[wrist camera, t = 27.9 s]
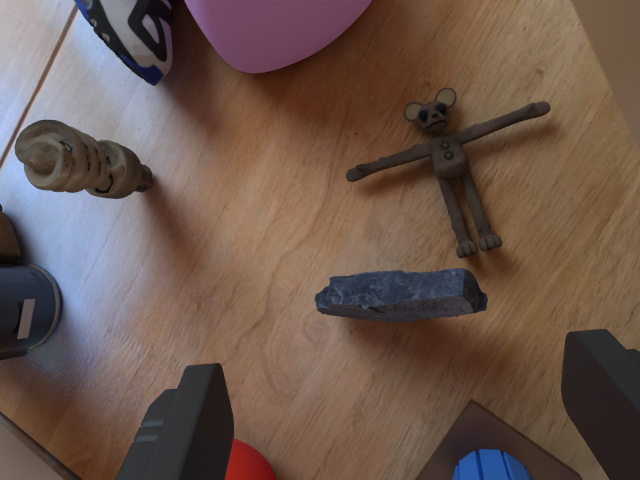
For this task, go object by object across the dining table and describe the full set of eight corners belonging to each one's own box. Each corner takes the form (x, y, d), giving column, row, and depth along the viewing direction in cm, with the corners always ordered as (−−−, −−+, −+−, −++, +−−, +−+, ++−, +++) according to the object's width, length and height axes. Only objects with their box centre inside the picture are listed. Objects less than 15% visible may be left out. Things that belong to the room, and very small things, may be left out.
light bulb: (178, 193, 51) (72, 164, 37) (136, 218, 52) (16, 199, 38) (157, 146, 52) (45, 100, 38) (116, 172, 53) (-8, 136, 39)
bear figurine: (376, 284, 43) (324, 124, 43) (381, 279, 47) (334, 132, 47) (597, 218, 39) (537, 42, 39) (581, 218, 43) (527, 59, 43)
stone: (337, 347, 46) (308, 368, 37) (318, 284, 47) (285, 288, 37) (486, 305, 43) (498, 315, 34) (464, 239, 44) (468, 230, 34)
